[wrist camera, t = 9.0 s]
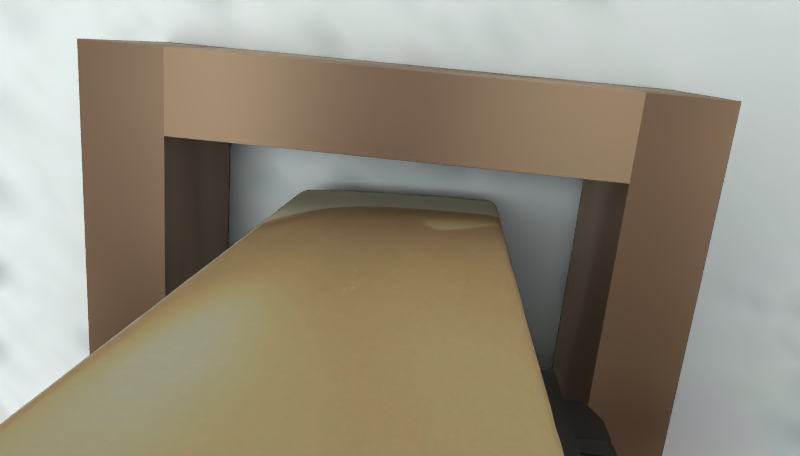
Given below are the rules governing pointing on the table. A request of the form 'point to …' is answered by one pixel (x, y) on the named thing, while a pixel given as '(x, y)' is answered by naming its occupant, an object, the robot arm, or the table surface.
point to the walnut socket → (419, 142)
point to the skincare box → (318, 347)
